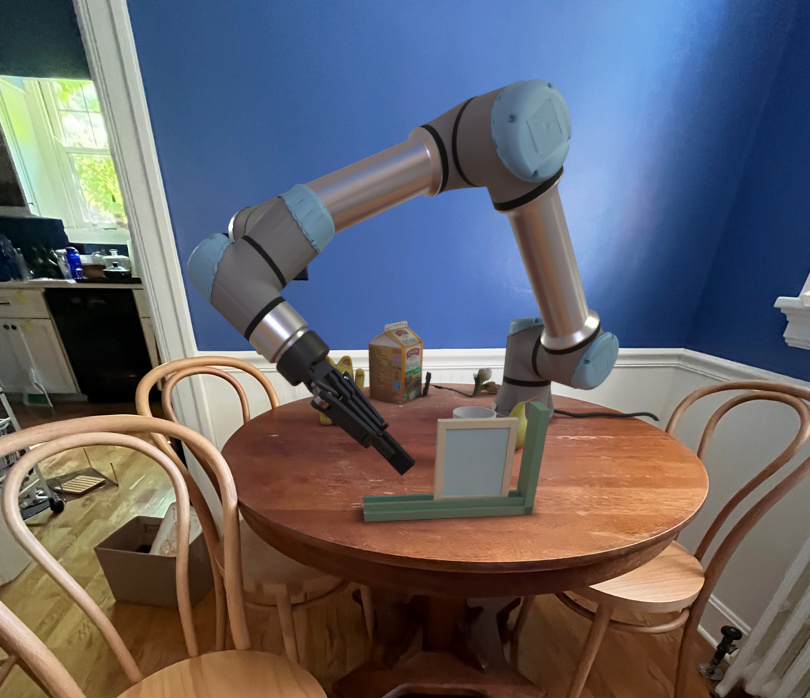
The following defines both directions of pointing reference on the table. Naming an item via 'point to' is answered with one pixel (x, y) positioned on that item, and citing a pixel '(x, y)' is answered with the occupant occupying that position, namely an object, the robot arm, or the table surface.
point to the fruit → (521, 422)
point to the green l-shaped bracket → (478, 507)
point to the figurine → (346, 365)
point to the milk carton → (395, 364)
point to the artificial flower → (479, 379)
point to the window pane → (474, 457)
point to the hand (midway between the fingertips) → (408, 468)
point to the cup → (473, 412)
